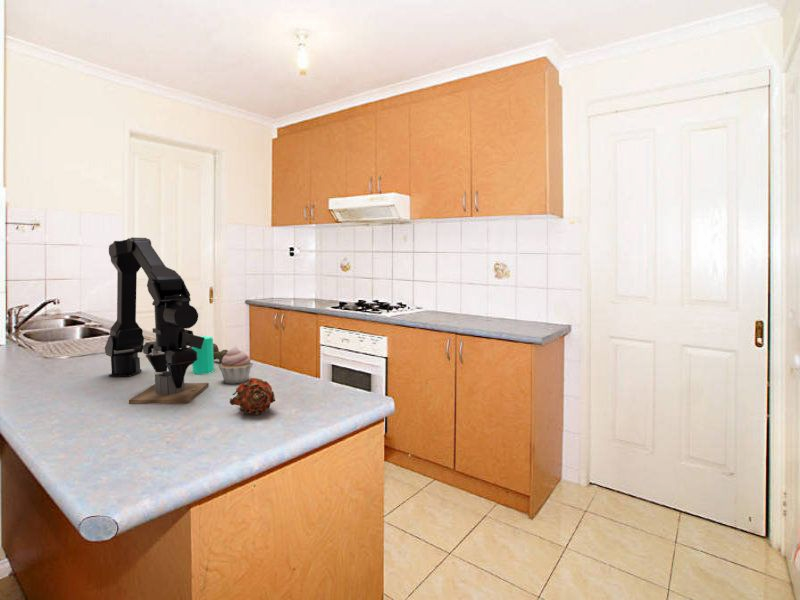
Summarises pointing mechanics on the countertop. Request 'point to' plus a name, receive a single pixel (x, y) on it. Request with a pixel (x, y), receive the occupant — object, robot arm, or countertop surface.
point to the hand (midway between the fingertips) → (170, 384)
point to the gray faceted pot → (166, 384)
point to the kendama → (217, 352)
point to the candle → (204, 357)
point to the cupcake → (235, 366)
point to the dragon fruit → (253, 396)
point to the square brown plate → (182, 397)
